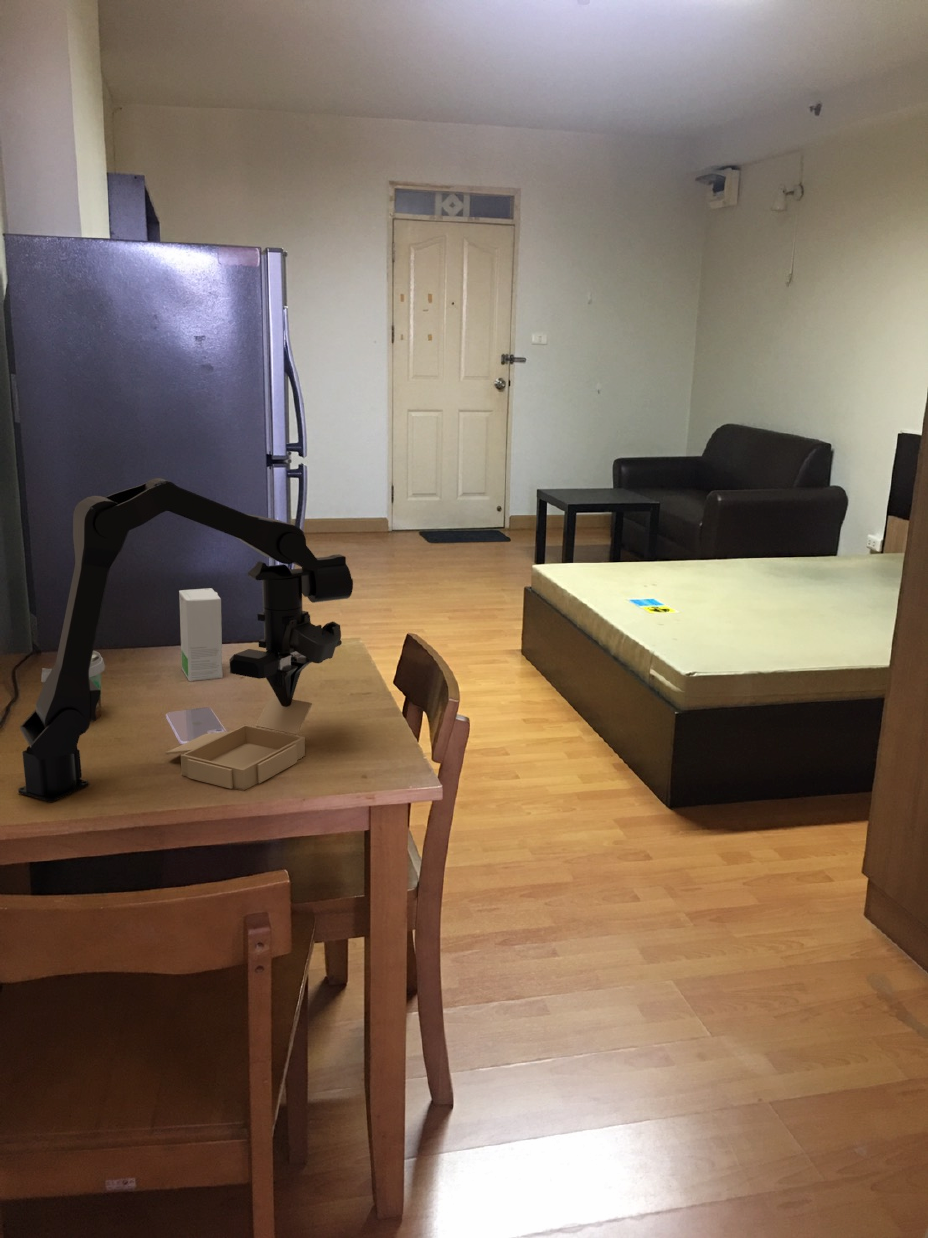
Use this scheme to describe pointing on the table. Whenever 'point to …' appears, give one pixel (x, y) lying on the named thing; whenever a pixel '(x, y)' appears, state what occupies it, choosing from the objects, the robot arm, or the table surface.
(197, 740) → the left flap
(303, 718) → the front flap
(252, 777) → the carton
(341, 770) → the table surface
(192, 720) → the mobile phone
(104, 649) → the table surface
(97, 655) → the food container
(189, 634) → the skincare box
